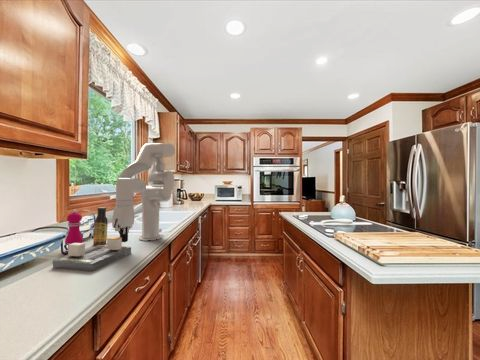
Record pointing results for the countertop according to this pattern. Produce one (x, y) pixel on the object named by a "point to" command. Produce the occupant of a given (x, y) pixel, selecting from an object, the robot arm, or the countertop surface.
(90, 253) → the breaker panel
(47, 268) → the countertop surface
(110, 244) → the switch
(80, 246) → the on switch
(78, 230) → the pepper mill
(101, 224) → the sauce bottle
